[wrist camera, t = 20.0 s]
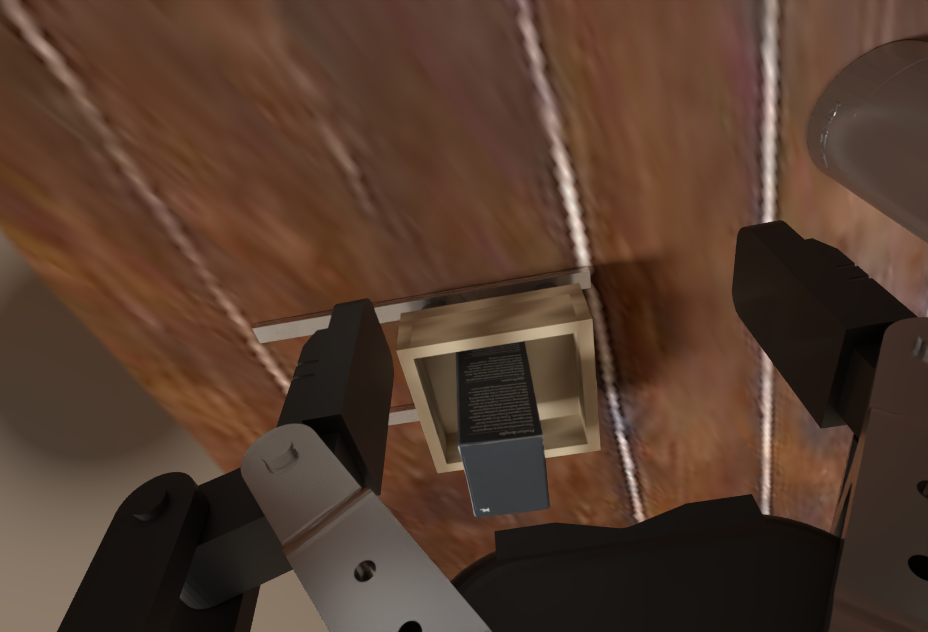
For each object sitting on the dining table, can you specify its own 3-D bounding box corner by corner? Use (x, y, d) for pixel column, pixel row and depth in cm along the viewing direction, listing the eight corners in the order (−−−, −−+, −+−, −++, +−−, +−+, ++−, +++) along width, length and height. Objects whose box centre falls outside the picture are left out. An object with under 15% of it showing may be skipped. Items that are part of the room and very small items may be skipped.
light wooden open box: (575, 272, 43) (592, 318, 38) (585, 398, 51) (600, 450, 46) (401, 302, 44) (396, 350, 39) (438, 420, 53) (437, 473, 48)
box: (532, 404, 48) (551, 511, 39) (467, 412, 48) (472, 519, 40) (525, 334, 43) (544, 437, 35) (454, 343, 44) (455, 447, 35)
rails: (588, 266, 44) (589, 271, 43) (595, 388, 52) (597, 393, 51) (254, 323, 46) (252, 328, 46) (310, 431, 54) (309, 437, 54)
